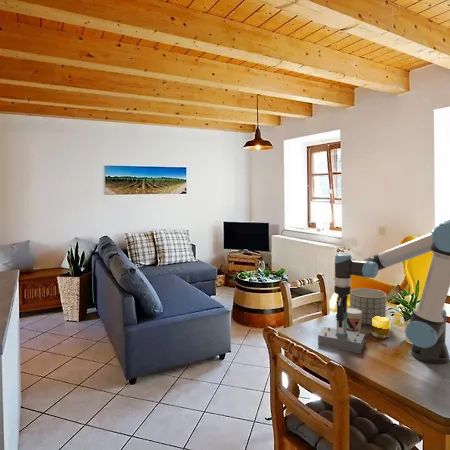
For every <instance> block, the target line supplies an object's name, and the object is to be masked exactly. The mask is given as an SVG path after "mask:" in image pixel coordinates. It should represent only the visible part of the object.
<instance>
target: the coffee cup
mask: <svg viewBox="0 0 450 450" xmlns="http://www.w3.org/2000/svg"><path fill="white" fill-rule="evenodd" d="M347 313H348V317H347V331H350V332H355V333H357V332H359V333H361V327H362V325H361V319H362V311H361V310H359V309H355V308H350V307H347Z"/></svg>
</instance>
